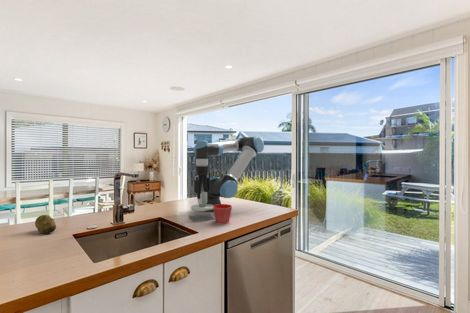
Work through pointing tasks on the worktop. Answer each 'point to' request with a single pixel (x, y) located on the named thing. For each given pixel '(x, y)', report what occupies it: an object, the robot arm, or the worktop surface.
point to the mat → (201, 217)
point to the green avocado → (45, 224)
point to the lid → (202, 206)
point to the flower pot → (222, 213)
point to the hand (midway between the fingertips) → (202, 202)
